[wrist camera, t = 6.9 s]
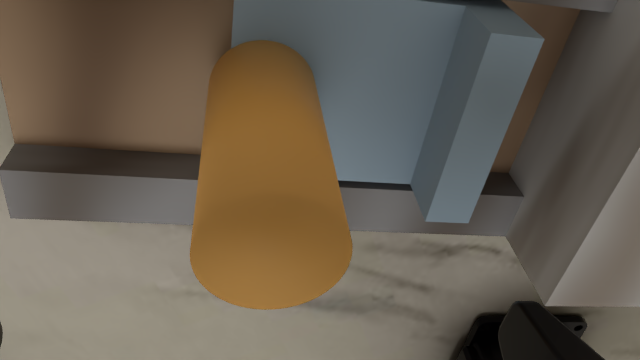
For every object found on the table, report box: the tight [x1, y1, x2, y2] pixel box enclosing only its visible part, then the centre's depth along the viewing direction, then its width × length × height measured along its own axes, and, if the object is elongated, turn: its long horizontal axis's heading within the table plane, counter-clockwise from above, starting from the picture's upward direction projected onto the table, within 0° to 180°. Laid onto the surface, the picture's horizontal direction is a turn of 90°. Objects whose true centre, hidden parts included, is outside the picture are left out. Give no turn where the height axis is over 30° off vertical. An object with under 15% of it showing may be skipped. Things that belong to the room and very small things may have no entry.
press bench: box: [0, 0, 640, 307], centre depth 17 cm, size 22×12×6 cm, turn 81°
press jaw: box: [190, 0, 544, 310], centre depth 14 cm, size 9×6×8 cm
